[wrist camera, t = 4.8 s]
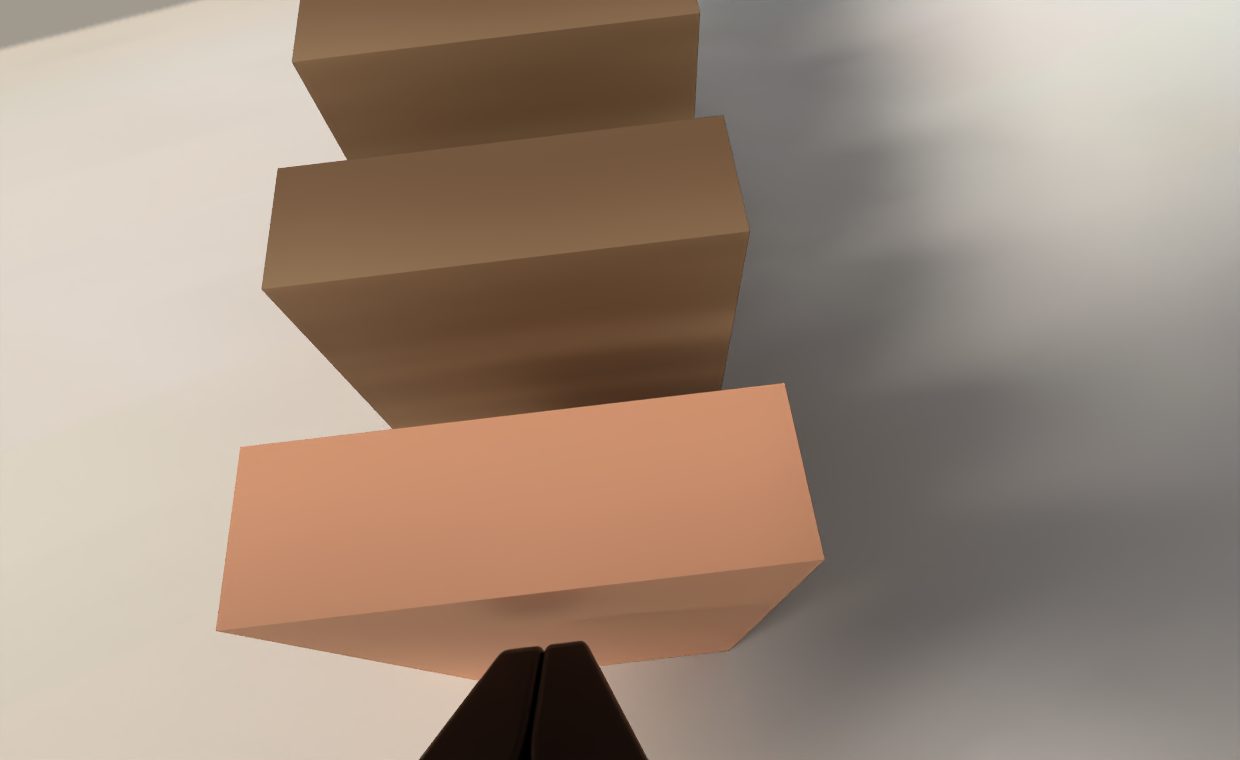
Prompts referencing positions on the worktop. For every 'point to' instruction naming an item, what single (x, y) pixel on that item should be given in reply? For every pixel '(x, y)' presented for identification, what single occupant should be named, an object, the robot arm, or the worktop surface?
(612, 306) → the walnut domino
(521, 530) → the terracotta domino
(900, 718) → the worktop surface
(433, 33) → the walnut domino
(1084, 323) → the worktop surface
